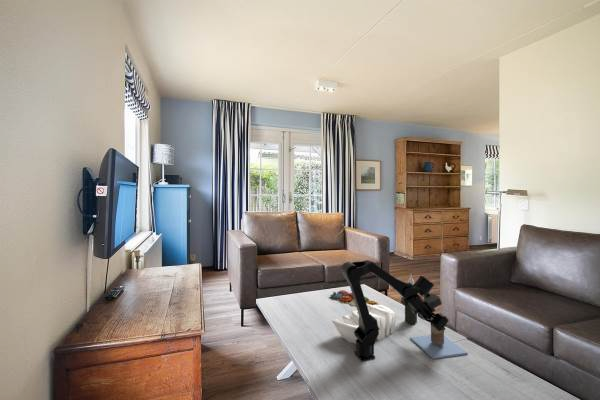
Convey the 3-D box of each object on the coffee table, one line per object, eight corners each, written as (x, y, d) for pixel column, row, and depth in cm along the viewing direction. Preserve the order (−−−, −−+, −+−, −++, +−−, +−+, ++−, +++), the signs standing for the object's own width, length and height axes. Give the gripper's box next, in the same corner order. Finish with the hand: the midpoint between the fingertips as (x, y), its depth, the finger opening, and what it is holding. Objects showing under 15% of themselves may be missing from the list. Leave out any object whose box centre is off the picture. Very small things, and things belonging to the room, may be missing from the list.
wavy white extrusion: (355, 353, 117) (355, 328, 117) (328, 337, 131) (328, 315, 131) (404, 329, 138) (404, 308, 138) (377, 317, 151) (377, 298, 151)
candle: (407, 318, 149) (407, 272, 149) (417, 321, 146) (417, 274, 145) (404, 322, 145) (404, 274, 145) (414, 325, 142) (414, 276, 141)
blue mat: (433, 359, 113) (433, 357, 113) (410, 339, 129) (410, 337, 129) (467, 354, 116) (467, 352, 116) (441, 335, 132) (441, 333, 132)
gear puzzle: (383, 304, 170) (383, 298, 170) (370, 313, 158) (370, 306, 158) (341, 292, 191) (341, 286, 191) (326, 299, 180) (326, 292, 180)
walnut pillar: (440, 346, 119) (441, 323, 118) (428, 341, 122) (428, 318, 122) (446, 342, 122) (446, 319, 122) (433, 337, 126) (434, 315, 126)
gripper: (444, 297, 112) (468, 322, 114) (416, 282, 130) (437, 304, 132) (426, 318, 110) (451, 343, 113) (401, 300, 129) (422, 322, 131)
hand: (440, 326), depth 122 cm, fingers closed on walnut pillar, 5 cm apart
